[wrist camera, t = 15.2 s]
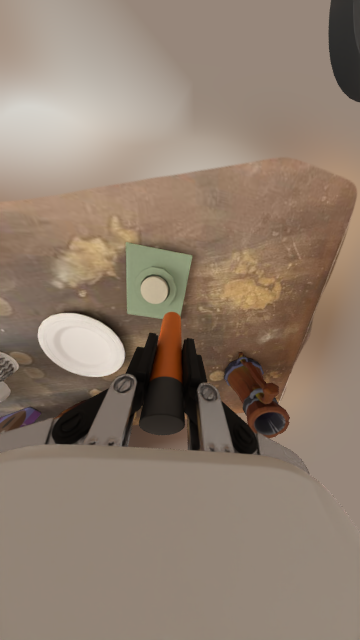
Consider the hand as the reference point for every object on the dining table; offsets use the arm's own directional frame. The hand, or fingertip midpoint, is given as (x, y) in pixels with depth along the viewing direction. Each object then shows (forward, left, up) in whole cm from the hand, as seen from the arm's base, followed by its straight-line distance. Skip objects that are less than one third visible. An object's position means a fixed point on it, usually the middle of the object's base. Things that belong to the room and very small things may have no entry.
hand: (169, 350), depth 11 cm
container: (+40, -56, -19) cm, 71 cm away
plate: (+18, -21, -19) cm, 34 cm away
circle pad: (-1, -4, -16) cm, 17 cm away
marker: (0, 0, -6) cm, 6 cm away
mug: (+18, +23, -19) cm, 35 cm away
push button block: (-1, -4, -19) cm, 19 cm away
